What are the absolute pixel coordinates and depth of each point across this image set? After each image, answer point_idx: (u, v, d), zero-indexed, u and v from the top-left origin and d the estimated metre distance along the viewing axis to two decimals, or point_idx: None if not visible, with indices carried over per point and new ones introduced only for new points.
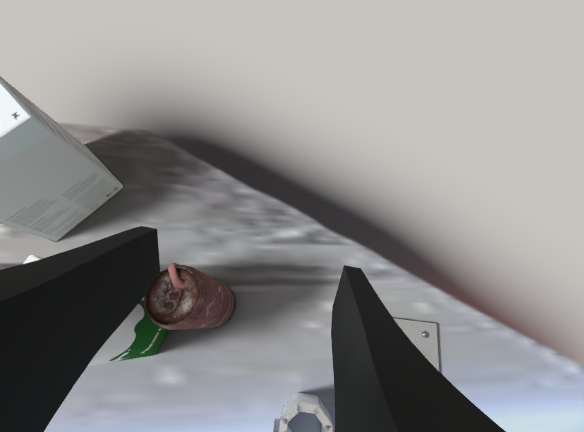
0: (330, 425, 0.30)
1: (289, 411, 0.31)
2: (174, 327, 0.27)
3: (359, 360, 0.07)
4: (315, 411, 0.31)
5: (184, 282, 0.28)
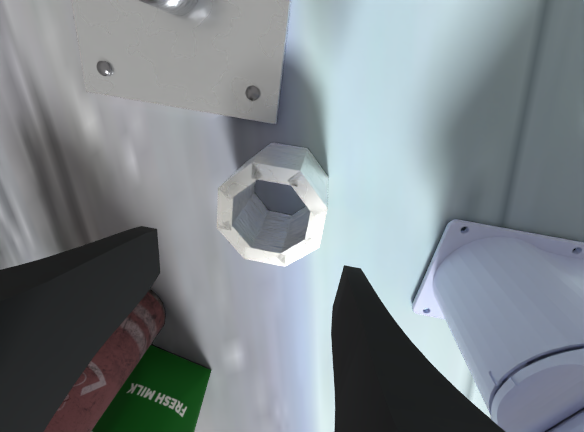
0: (251, 167, 0.14)
1: (233, 242, 0.16)
2: None
3: (359, 360, 0.07)
4: (229, 195, 0.15)
5: None
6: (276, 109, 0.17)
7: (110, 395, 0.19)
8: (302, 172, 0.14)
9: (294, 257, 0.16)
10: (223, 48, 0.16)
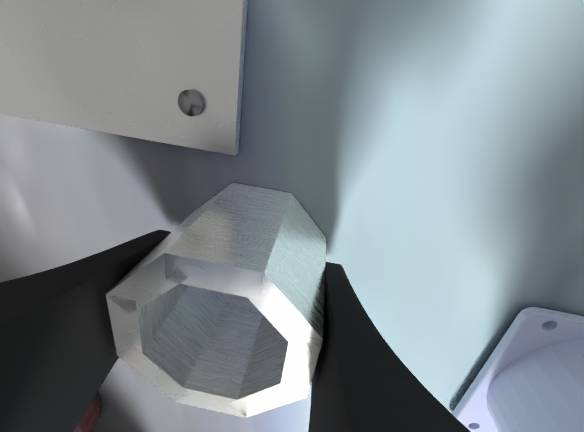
0: (164, 261, 0.07)
1: (150, 378, 0.09)
2: None
3: (329, 354, 0.07)
4: (128, 307, 0.07)
5: None
6: (235, 130, 0.10)
7: None
8: (270, 272, 0.07)
9: (262, 406, 0.08)
10: (132, 21, 0.09)
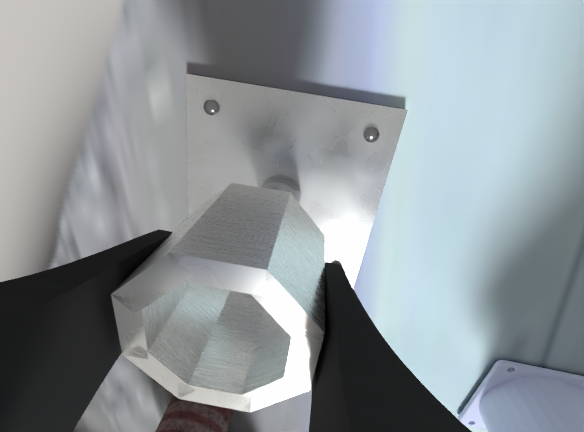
0: (169, 260, 0.07)
1: (155, 376, 0.09)
2: None
3: (330, 354, 0.07)
4: (134, 306, 0.08)
5: None
6: (355, 278, 0.20)
7: None
8: (272, 269, 0.07)
9: (266, 401, 0.09)
10: None
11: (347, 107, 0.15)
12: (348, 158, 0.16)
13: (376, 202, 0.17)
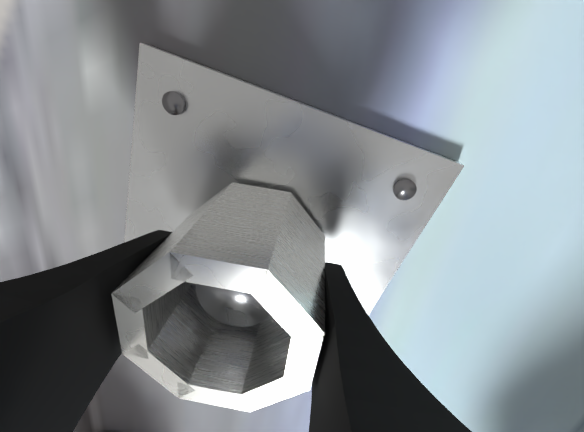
0: (170, 259, 0.07)
1: (155, 375, 0.09)
2: None
3: (329, 354, 0.07)
4: (134, 305, 0.08)
5: None
6: None
7: None
8: (273, 269, 0.07)
9: (266, 400, 0.09)
10: None
11: (379, 144, 0.10)
12: (364, 214, 0.11)
13: (389, 277, 0.12)
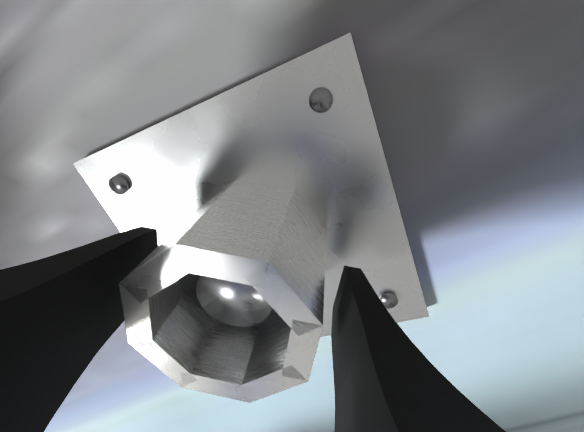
0: (175, 251, 0.07)
1: (159, 364, 0.09)
2: None
3: (359, 360, 0.07)
4: (140, 295, 0.08)
5: None
6: None
7: None
8: (273, 262, 0.07)
9: (265, 391, 0.09)
10: None
11: (405, 264, 0.12)
12: None
13: None
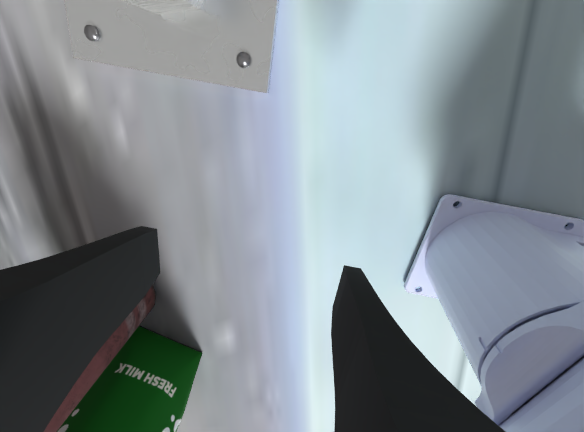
0: None
1: None
2: None
3: (359, 360, 0.07)
4: None
5: None
6: (268, 77, 0.17)
7: (96, 370, 0.19)
8: None
9: None
10: (214, 12, 0.15)
11: None
12: None
13: None
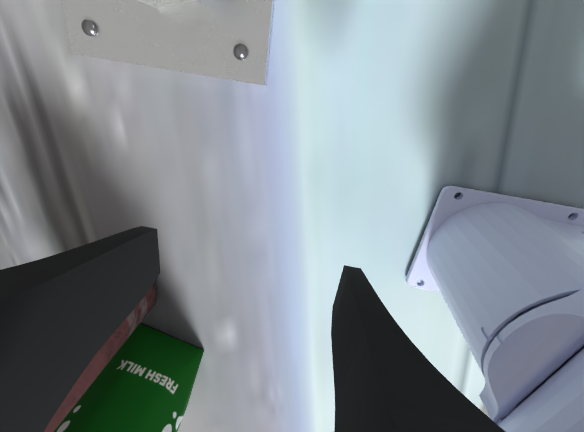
0: None
1: None
2: None
3: (359, 360, 0.07)
4: None
5: None
6: (265, 69, 0.16)
7: (97, 366, 0.19)
8: None
9: None
10: (210, 4, 0.15)
11: None
12: None
13: None
